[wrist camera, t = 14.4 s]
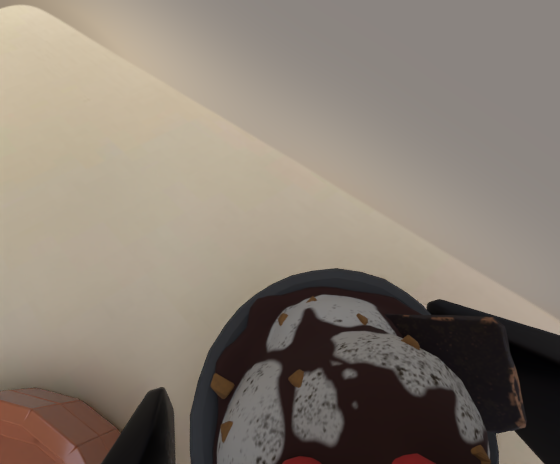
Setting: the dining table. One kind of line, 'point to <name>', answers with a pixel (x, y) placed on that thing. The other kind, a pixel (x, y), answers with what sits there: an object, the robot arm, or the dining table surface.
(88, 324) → the dining table surface
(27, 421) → the bowl
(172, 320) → the dining table surface
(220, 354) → the sundae
